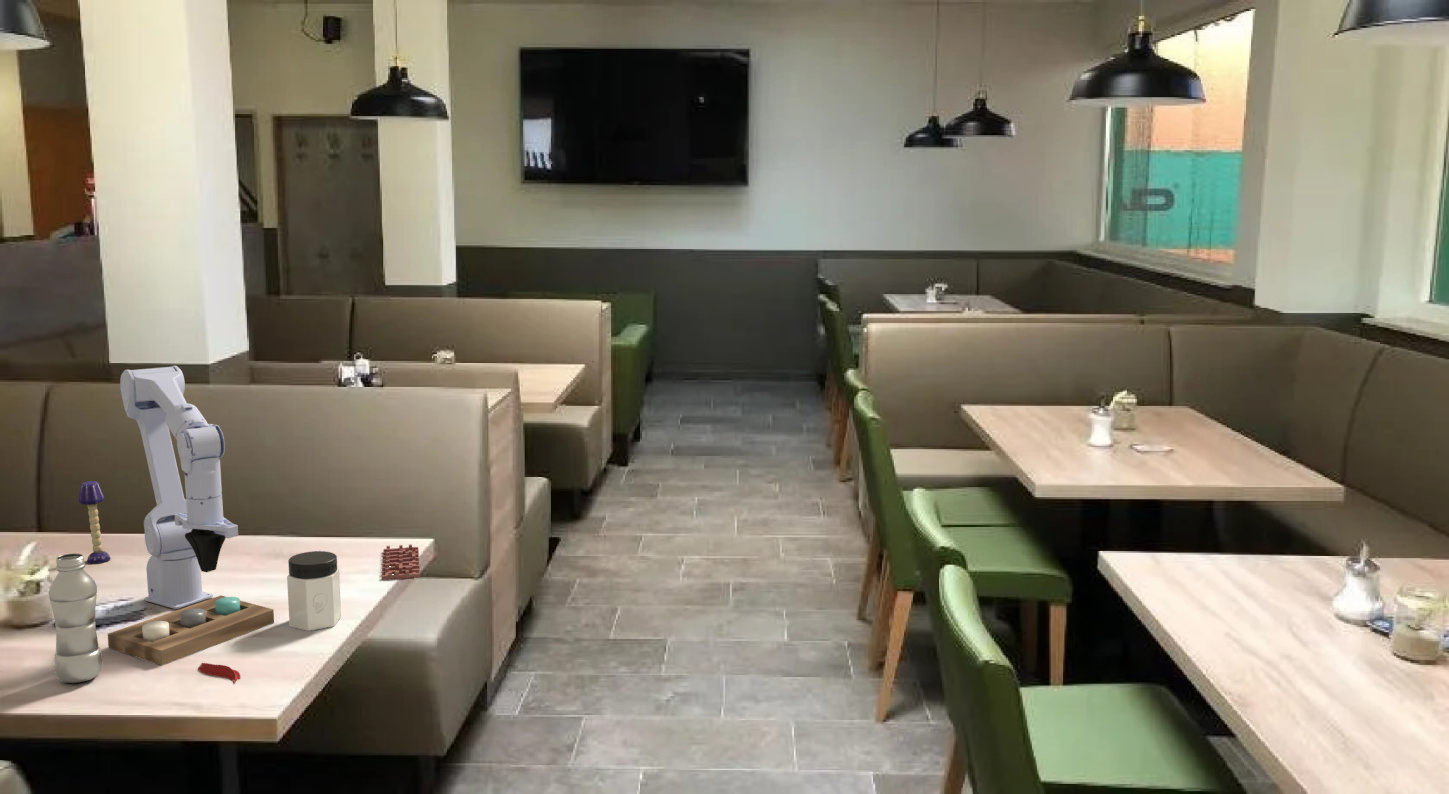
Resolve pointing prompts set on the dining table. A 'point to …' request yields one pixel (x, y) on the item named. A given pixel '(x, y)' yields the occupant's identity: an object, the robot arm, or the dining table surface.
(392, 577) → the brown woven panel
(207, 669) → the cayenne pepper
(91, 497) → the toy lamp
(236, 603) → the teal rounded piece
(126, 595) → the dining table surface
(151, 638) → the ivory key
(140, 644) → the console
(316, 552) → the jar
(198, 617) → the graphite key
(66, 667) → the plastic bottle
